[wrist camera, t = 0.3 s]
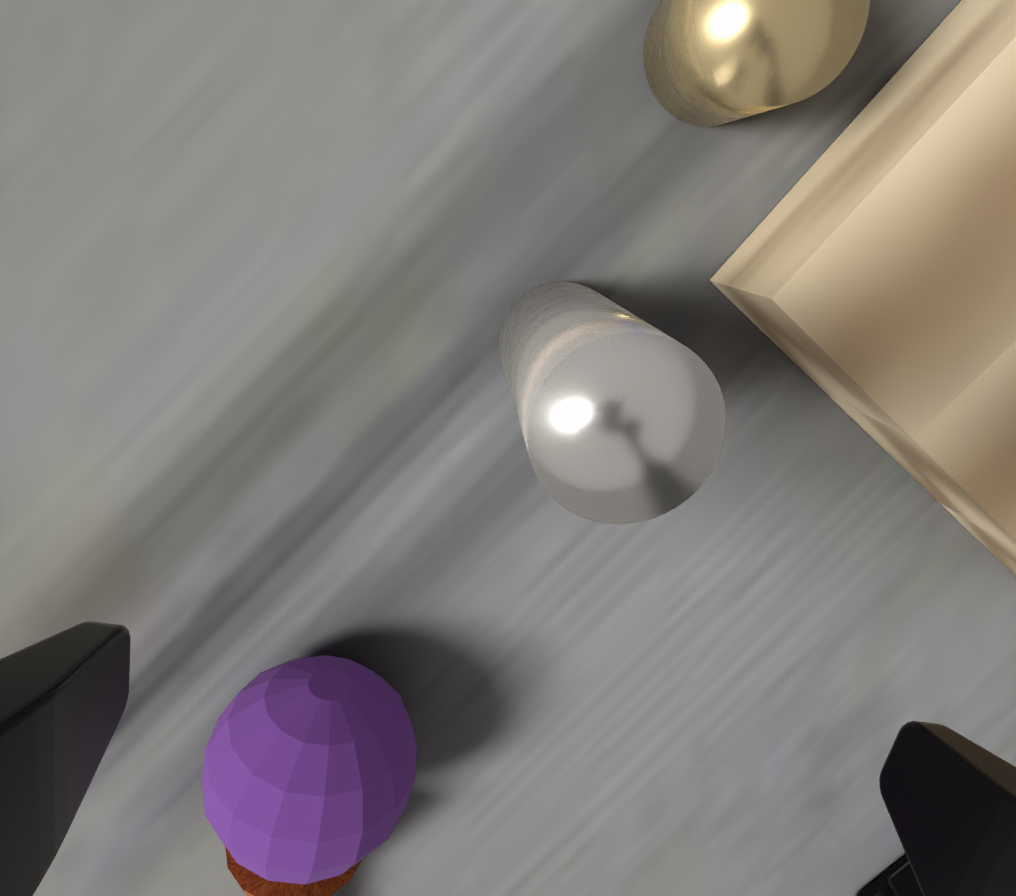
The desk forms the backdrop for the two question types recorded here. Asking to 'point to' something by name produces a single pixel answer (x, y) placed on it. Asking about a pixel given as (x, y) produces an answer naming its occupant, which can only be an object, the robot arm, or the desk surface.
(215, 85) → the desk surface
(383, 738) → the purple maraca
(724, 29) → the gold rounded piece
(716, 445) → the long pin
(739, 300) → the bore block
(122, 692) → the robot arm
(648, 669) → the desk surface
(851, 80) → the desk surface
